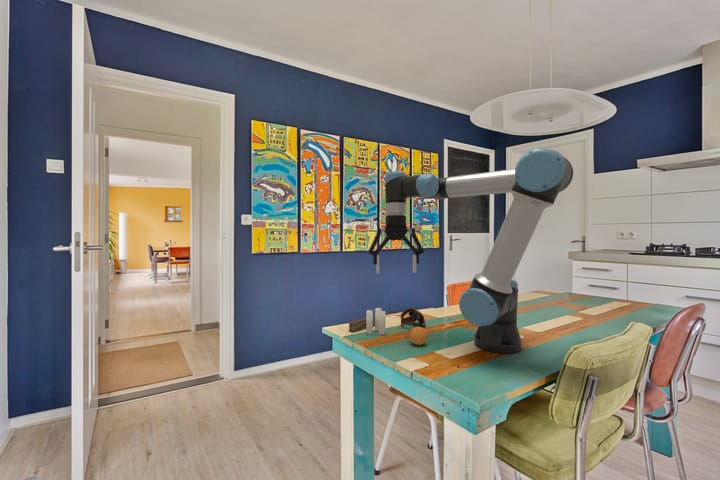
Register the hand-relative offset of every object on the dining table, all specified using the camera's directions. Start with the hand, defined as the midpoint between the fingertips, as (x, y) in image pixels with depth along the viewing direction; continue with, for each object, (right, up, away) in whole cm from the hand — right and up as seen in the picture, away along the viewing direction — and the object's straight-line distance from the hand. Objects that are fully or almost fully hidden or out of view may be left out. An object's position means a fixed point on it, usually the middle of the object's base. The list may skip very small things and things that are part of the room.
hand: (396, 273), depth 133 cm
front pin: (-5, -23, +2) cm, 24 cm away
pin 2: (-6, -23, +6) cm, 24 cm away
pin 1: (-10, -23, +3) cm, 25 cm away
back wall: (-12, -22, +9) cm, 27 cm away
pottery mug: (+8, -23, +14) cm, 28 cm away
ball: (+7, -21, -9) cm, 23 cm away
